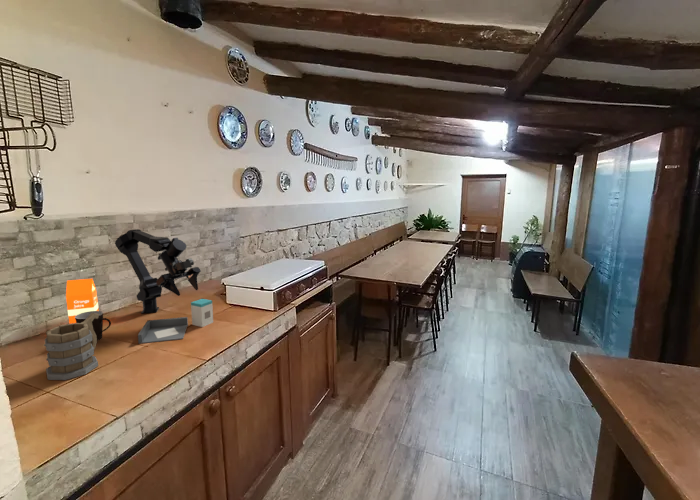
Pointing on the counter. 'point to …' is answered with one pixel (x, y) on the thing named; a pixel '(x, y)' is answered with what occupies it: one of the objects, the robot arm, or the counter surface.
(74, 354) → the tankard
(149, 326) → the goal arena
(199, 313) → the white teal-lidded canister
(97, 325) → the coffee mug
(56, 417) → the counter surface
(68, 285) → the orange juice
